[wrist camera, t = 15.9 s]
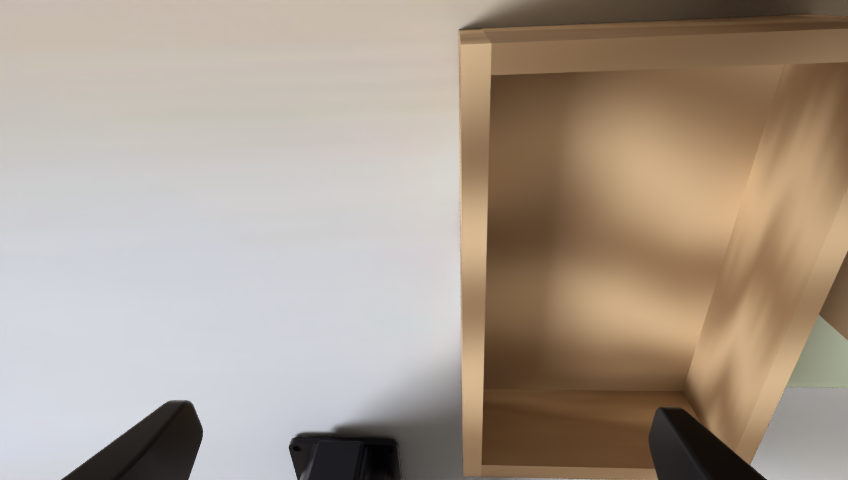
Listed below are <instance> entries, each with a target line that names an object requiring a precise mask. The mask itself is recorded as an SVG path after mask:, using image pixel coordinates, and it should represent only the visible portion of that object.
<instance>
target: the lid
mask: <svg viewBox="0 0 848 480" xmlns="http://www.w3.org/2000/svg"><path fill="white" fill-rule="evenodd" d="M786 387H823V388H848V251H847V253H846V256H845V258H844V260H843V262H842V264H841V267H840V269H839V271H838V273H837V275H836V278H835V280H834V282H833V284H832V286H831V289H830V291H829V293H828V295H827V297H826V300H825V302H824V304H823V306H822V308H821V311H820V313H819V315H818V317H817V319H816V321H815V324H814V326H813V328H812V330H811V332H810V335H809V337H808V339H807V341H806V343H805V346H804V348H803V350H802V352H801V354H800V357H799V359H798V361H797V363H796V365H795V368H794V370H793V372H792V374H791V376H790V378H789V381H788V383H787V385H786Z"/></svg>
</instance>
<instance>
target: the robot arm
mask: <svg viewBox="0 0 848 480" xmlns="http://www.w3.org/2000/svg"><path fill="white" fill-rule="evenodd" d="M202 437H203V429H202V425H201V423H200V420H199V418H198V415H197V413H196V410H195V408H194V405H193V404H192V403H191V402H190V401H187V400H172V401H168V402H166V403H165V404H163V405H162V406H161V407H159V408H158V409H156V410H155V411H154V412H152V413H151V414H150V415H148V416H147V417H146V418H144V419H143V420H142V421H140V422H139V423H138V424H136V425H135V426H133V427H132V428H131V429H129V430H128V431H127V432H125V433H124V434H123V435H121V436H120V437H119V438H117V439H116V440H114V441H113V442H112V443H110V444H109V445H108V446H106V447H105V448H104V449H102V450H101V451H100V452H98V453H97V454H95V455H94V456H93V457H91V458H90V459H89V460H87V461H86V462H85V463H83V464H82V465H81V466H79V467H78V468H76V469H75V470H74V471H72V472H71V473H70V474H68V475H67V476H66V477H64V478H63V479H62V480H188V479H189V476H190V473H191V470H192V468H193V465H194V462H195V459H196V456H197V453H198V450H199V447H200V444H201V441H202ZM648 441H649V449H650V452H651V456H652V460H653V463H654V467H655V471H656V474H657V478H658V480H767V479H765V478H764V477H763V476H762V475H761V474H760V473H758V472H757V471H756V470H755V469H754V468H753V467H751V466H750V465H749V464H748V463H747V462H746V461H744V460H743V459H742V458H741V457H740V456H739V455H737V454H736V453H735V452H734V451H733V450H732V449H730V448H729V447H728V446H727V445H726V444H725V443H723V442H722V441H721V440H720V439H719V438H718V437H716V436H715V435H714V434H713V433H712V432H711V431H709V430H708V429H707V428H706V427H705V426H704V425H702V424H701V423H700V422H699V421H698V420H697V419H695V418H694V417H693V416H692V415H691V414H690V413H688V412H687V411H686V410H685V409H683V408H681V407H672V406H661V407H658V408H657V409H656V411H655V415H654V418H653V422H652V425H651V429H650V432H649V438H648ZM289 450H290V454H291V458H292V461H293V465H294V468H295V472H296V476H297V479H298V480H402V474H401V464H400V455H399V445H398V443H397V442H396V441H395V440H393V439H367V438H313V437H295V438H293V439H292V440H291V442H290V445H289Z"/></svg>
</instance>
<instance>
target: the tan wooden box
mask: <svg viewBox="0 0 848 480" xmlns="http://www.w3.org/2000/svg"><path fill="white" fill-rule="evenodd" d="M459 103H460V240H461V377H462V435H463V476H479V477H521V478H563V479H605V480H658V478H657V474H656V471H655V467H654V463H653V460H652V456H651V452H650V449H649V441H648V438H649V432H650V429H651V425H652V422H653V418H654V415H655V411H656V409H657V408H658V407H661V406H672V407H681V408H683V409H685V410H686V411H687V412H688V413H690V414H691V415H692V416H693V417H694V418H695V419H697V420H698V421H699V422H700V423H701V424H702V425H704V426H705V427H706V428H707V429H708V430H709V431H711V432H712V433H713V434H714V435H715V436H716V437H718V438H719V439H720V440H721V441H722V442H723V443H725V444H726V445H727V446H728V447H729V448H730V449H732V450H733V451H734V452H735V453H736V454H737V455H739V456H740V457H741V458H742V459H743V460H744V461H746V462H747V463H748V464H749V465H750V464H751V462H752V460H753V457H754V455H755V453H756V451H757V449H758V446H759V444H760V442H761V440H762V438H763V436H764V433H765V431H766V429H767V427H768V425H769V422H770V420H771V418H772V416H773V414H774V411H775V409H776V407H777V405H778V403H779V400H780V398H781V396H782V394H783V392H784V389H785V387H786V385H787V383H788V381H789V378H790V376H791V374H792V372H793V370H794V368H795V365H796V363H797V361H798V359H799V357H800V354H801V352H802V350H803V348H804V346H805V343H806V341H807V339H808V337H809V335H810V332H811V330H812V328H813V326H814V324H815V321H816V319H817V317H818V315H819V313H820V311H821V308H822V306H823V304H824V302H825V300H826V297H827V295H828V293H829V291H830V289H831V286H832V284H833V282H834V280H835V278H836V275H837V273H838V271H839V269H840V267H841V264H842V262H843V260H844V258H845V256H846V253H847V251H848V17H847V16H833V15H819V14H800V15H777V16H755V17H732V18H709V19H687V20H664V21H641V22H618V23H596V24H573V25H550V26H527V27H505V28H482V29H459Z"/></svg>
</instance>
